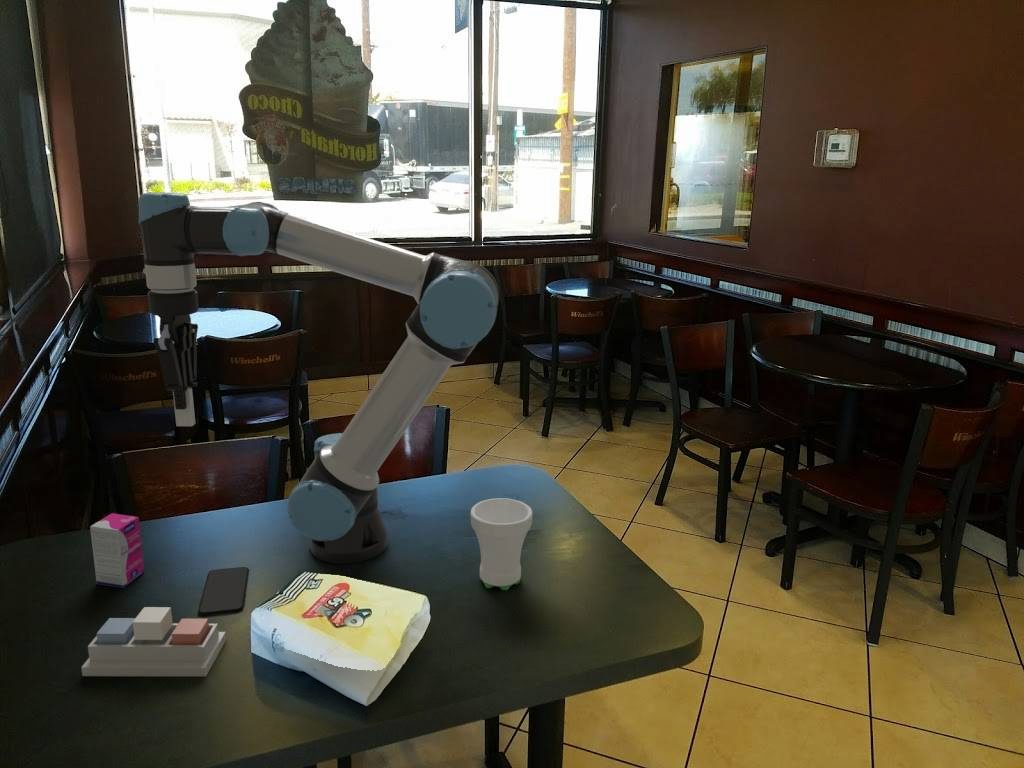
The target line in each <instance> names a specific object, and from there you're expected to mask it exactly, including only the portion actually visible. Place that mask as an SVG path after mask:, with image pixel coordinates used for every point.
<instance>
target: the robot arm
mask: <svg viewBox="0 0 1024 768" xmlns="http://www.w3.org/2000/svg"><path fill="white" fill-rule="evenodd" d="M137 203H138V204H137V205H138V221H137V222H138V224H139V228H140V235H141V236H140V237H141V243H142V251H143V252H142V253H143V263H144V268H143V270H142V273H143V274H144V275H145V280H146V287H147V289H149V291H148V292H147V299H148V300H147V301H148V302H147V303H148V311H149V313H150V314H152V315H153V316H158V317H159V335H160V337H154V338H153V345H154V347H155V349H156V352H157V356H158V360H159V364H160V369H161V374H162V378H163V383H164V387H165V390H166V391H170V392H172V397H173V398H172V399H173V407H174V417H175V425H176V427H193V426H195V425H196V416H195V406H194V405H195V404H194V395H193V387H198V381H196V380H197V378H198V377H197V376H198V374H197V373H198V372H197V371H198V369H197V367H198V366H197V365H198V360H197V358H198V357H197V353H198V352H197V348H198V347H197V344H198V343H197V341H198V338H197V337H198V329H199V324H197V323H192V318H191V315H193V314H196V313H198V312H199V298H198V297H199V296H198V291H197V290H196V289H194V288H196V286H197V284H198V283H197V273H196V264H195V263H196V262H195V257H194V256H195V254H196V255H200V254H203V255H204V254H205V255H206V254H208V255H209V254H210V255H223V256H224V255H228V256H238V257H246V256H259V255H262V254H264V253H265V251H266V252H269V253H272V254H276V255H280V256H283V257H287V258H290V259H292V260H296V261H298V262H303V263H306V264H309V265H313V266H315V267H318V268H322V269H325V270H329V271H330V272H331V271H332V272H334V273H338V274H341V275H344V276H347V277H349V278H354V279H357V280H360V281H363V282H366V283H369V284H372V285H376V286H379V287H382V288H385V289H388V290H392V291H395V292H399V293H401V294H404V295H408V296H411V297H413V298H414V300H415V301H416V303H417V305H416V307H415V309H414V310H413V311H412V313H411V314H410V316H409V317H408V319H407V320H406V322H405V328H406V333H407V337H406V339H405V340H404V342H403V343H402V345H401V346H400V348H399V349H398V350H397V352H396V354H395V355H394V356H393V358H392V359H391V361H390V362H389V363H388V366H387V367H386V369H384V371H383V372H382V374H381V376H380V377H379V379H378V380H377V382H376V384H375V385H374V386H373V388H372V389H371V391H370V393H369V394H368V395H367V397H366V398H365V400H364V401H363V403H362V404H361V406H359V409H358V410H357V412H356V413H355V415H354V416H353V417H352V419H351V420H350V423H348V425H347V426H346V428H345V429H344V431H343V432H342V433H341V432H338V433H331V434H326V435H322V436H320V437H317V438H316V440H315V441H314V448H313V452H314V460H313V461H312V463H311V465H310V466H309V467H308V469H307V470H306V472H305V473H304V475H303V477H302V478H301V479H300V481H299V482H298V484H297V485H295V486H294V487H293V489H292V490H291V492H290V494H289V497H288V500H287V507H286V508H287V514H288V516H289V517H288V518H289V519H290V520H289V521H290V522H291V524H292V525H293V527H294V528H295V530H297V531H298V532H299V533H300V534H302V535H303V536H305V537H307V538H308V539H309V544H310V545H309V546H310V552H311V554H312V555H313V556H314V557H316V558H317V560H318V559H319V560H321V561H324V562H327V563H331V564H341V565H342V564H343V565H344V564H355V563H361V562H365V561H368V560H371V559H373V558H375V557H377V556H379V555H381V554H382V553H383V552H384V551H385V550H386V549H387V547H388V542H389V539H388V537H389V536H388V535H389V534H388V529H387V527H386V524H385V522H384V520H383V516H382V514H381V512H380V509H379V502H378V501H379V498H378V497H379V496H378V495H379V494H378V486H379V483H380V477H379V474H378V471H379V470H380V468H381V466H382V465H383V464H384V462H385V460H386V459H387V458H388V456H389V455H390V453H391V452H392V451H393V450H394V448H395V446H396V445H397V444H398V442H399V440H401V438H402V436H403V435H404V434H405V432H406V430H407V429H408V428H409V426H410V425H411V424H412V422H413V420H414V419H415V417H416V416H417V415H418V413H419V411H420V410H422V407H424V404H425V403H426V402H427V400H428V399H429V397H430V396H431V395H432V394H433V391H434V390H435V389H436V387H437V386H438V385H439V383H440V382H441V381H442V379H443V378H444V376H445V374H446V373H447V372H448V370H449V368H451V366H453V365H459V364H464V363H465V362H466V361H467V359H468V357H469V356H470V355H471V353H472V352H473V351H474V349H475V348H476V346H477V345H478V343H479V342H481V341H482V340H483V338H486V337H487V335H488V334H489V332H491V330H492V328H493V326H494V324H495V322H496V319H497V313H498V307H499V303H500V290H499V285H498V283H497V281H496V278H495V276H493V274H492V273H491V272H490V271H489V270H488V269H487V268H485V267H484V266H482V265H481V264H478V263H475V262H473V261H468V260H464V259H463V260H462V259H458V258H455V257H450V256H447V255H443V254H439V253H436V252H434V251H433V252H431V253H428V254H427V255H424V254H420V253H418V252H415V251H412V250H411V251H410V250H409V249H405V248H401V247H399V246H394V245H392V244H388V243H385V242H383V241H380V240H379V241H378V240H375V239H373V238H369V237H366V236H363V235H360V234H357V233H354V232H350V231H347V230H344V229H341V228H338V227H334V226H331V225H328V224H325V223H321V222H318V221H315V220H312V219H309V218H306V217H303V216H301V215H300V216H299V215H296V214H292V213H290V212H289V213H288V212H285V211H283V210H281V209H279V208H277V206H275V205H274V204H271V203H267V202H262V201H253V202H250V203H246V204H238V205H229V206H195V205H191V202H190V201H189V196H188V195H187V194H186V193H184V192H183V193H182V192H144V193H143V194H141V195H139V197H138V201H137Z"/></svg>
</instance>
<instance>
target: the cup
mask: <svg viewBox="0 0 1024 768" xmlns="http://www.w3.org/2000/svg"><path fill="white" fill-rule="evenodd" d="M532 523H533V509H532V508H531V507H530V506H529V505H528V504H526V503H525V502H523V501H520V500H517V499H513V498H504V497H503V498H502V497H501V498H499V497H498V498H496V497H495V498H490V499H485V500H481V501H479V502H477V503H476V504H474V505H473V506H472V507H471V510H470V524H471V525H470V526H471V527H472V529H473V530H474V532H475V535H476V538H477V541H478V544H479V550H480V564H479V565H480V566H479V579H480V580H481V581H482V583H483V585H484V588H487V589H491V588H494V587H498V588H500V589H501V590H502V591H504V590H505V591H508V590H509V589H510V587H512V586H513V585H518V584H520V581H521V578H522V577H521V576H522V566H521V554H522V549H523V545H524V541H525V538H526V536H527V534H528V533H529V531H530V529H531V528H532Z"/></svg>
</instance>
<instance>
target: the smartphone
mask: <svg viewBox="0 0 1024 768" xmlns="http://www.w3.org/2000/svg"><path fill="white" fill-rule="evenodd" d="M249 574H250V569H249V567H245V566H242V567H231V568H229V567H227V568H219V569H212V570H209V572H208V573H207V576H206V581H205V584H204V587H203V591H202V596H201V598H200V601H199V607H198V610H197V611H198V612H197V613H198V615H199V616H201V617H206V616H216V615H222V614H223V615H225V614H235V613H239V612H241V611H243V610H244V606H245V604H246V603H245V602H246V595H247V589H248V588H247V587H248V580H249V576H250V575H249Z"/></svg>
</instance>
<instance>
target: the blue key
mask: <svg viewBox="0 0 1024 768" xmlns="http://www.w3.org/2000/svg"><path fill="white" fill-rule="evenodd" d="M135 618H136V617H135ZM135 618H134V617H109V618H108V619H107V620H106V622H105V623H104V624H103V625H102V626H101V627H100V629H99V630H98V631H97V632H96V636H97V640H98V645H127V644H128V643H129V641H130V640H131V639H132V637H133V636H134V629H133V621H134V620H135Z"/></svg>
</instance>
